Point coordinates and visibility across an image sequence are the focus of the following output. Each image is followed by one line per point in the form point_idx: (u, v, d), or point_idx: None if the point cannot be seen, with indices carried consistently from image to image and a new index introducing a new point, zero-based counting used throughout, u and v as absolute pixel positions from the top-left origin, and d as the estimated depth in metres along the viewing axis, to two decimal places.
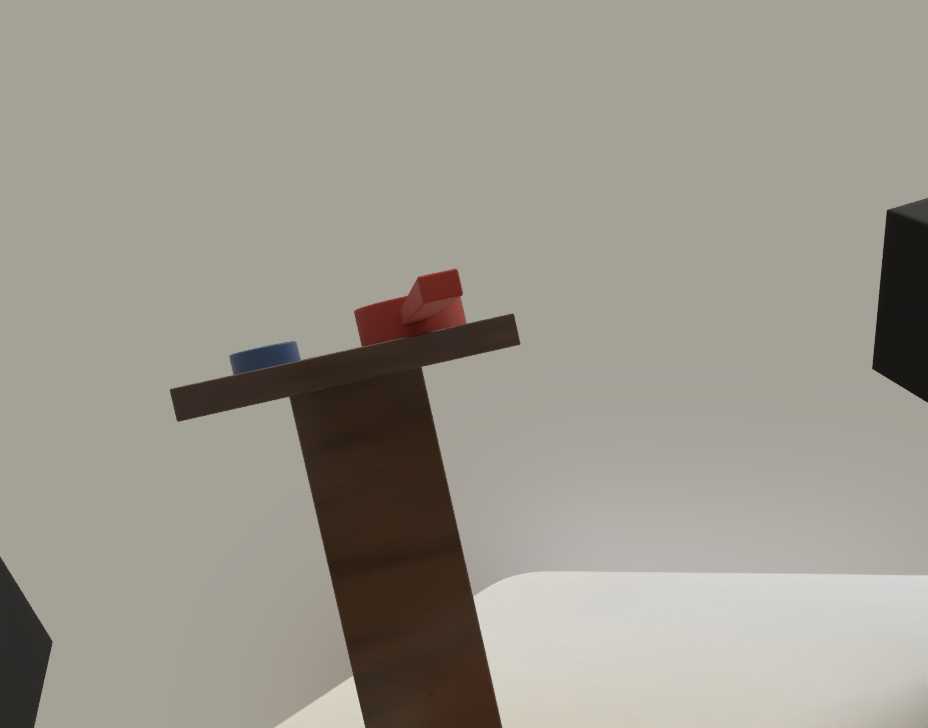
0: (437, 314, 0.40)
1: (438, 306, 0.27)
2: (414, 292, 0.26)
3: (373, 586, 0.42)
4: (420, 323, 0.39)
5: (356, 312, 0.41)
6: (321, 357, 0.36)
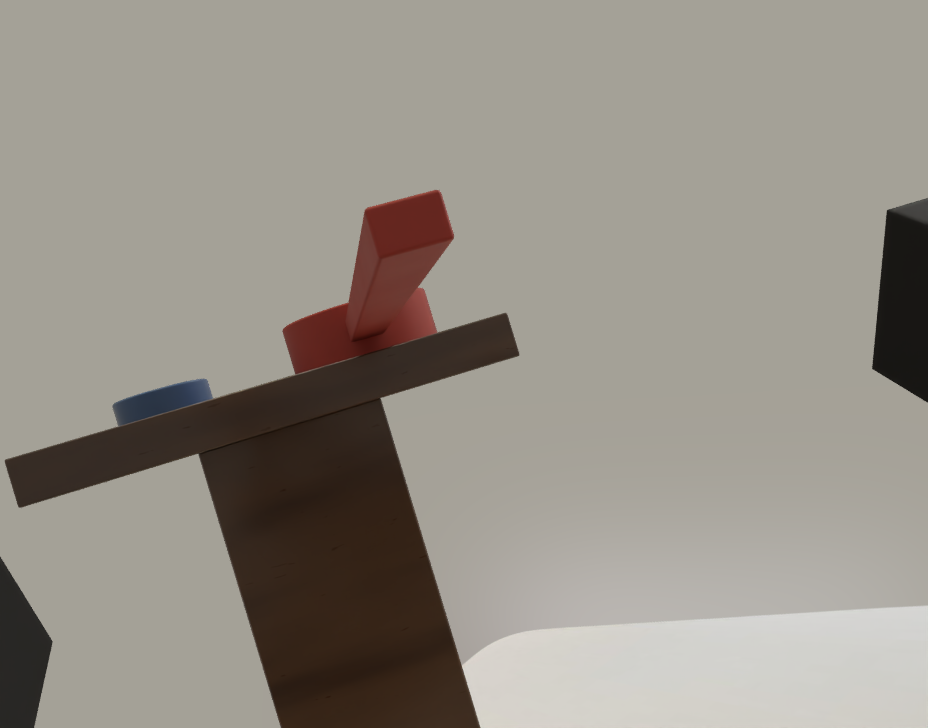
0: (398, 324, 0.28)
1: (405, 282, 0.15)
2: (361, 256, 0.14)
3: (335, 713, 0.30)
4: (375, 338, 0.28)
5: (285, 331, 0.29)
6: (233, 395, 0.25)
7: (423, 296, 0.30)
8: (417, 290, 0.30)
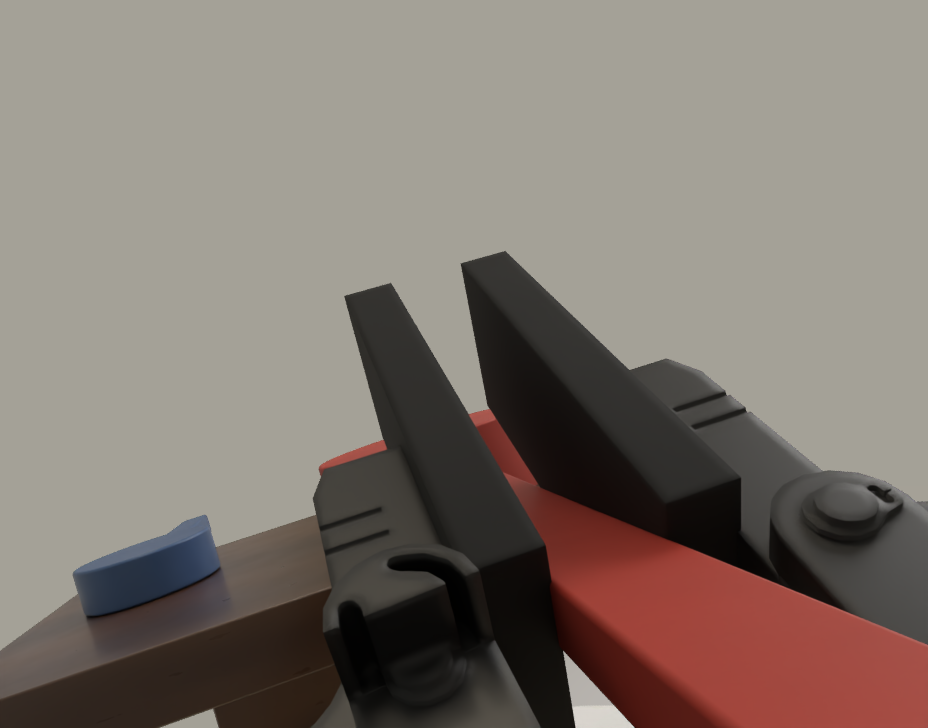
0: None
1: None
2: (653, 696, 0.05)
3: None
4: None
5: None
6: (251, 617, 0.16)
7: None
8: None
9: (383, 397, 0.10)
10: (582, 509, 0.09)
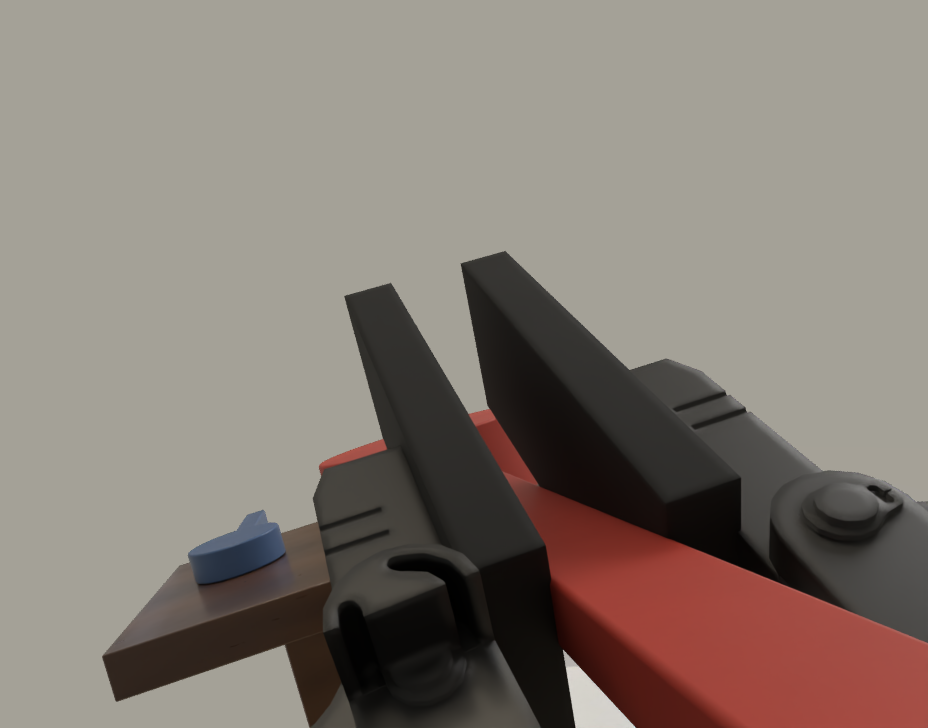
0: None
1: None
2: (652, 693, 0.05)
3: None
4: None
5: None
6: (321, 586, 0.25)
7: None
8: None
9: (383, 397, 0.10)
10: (582, 508, 0.09)
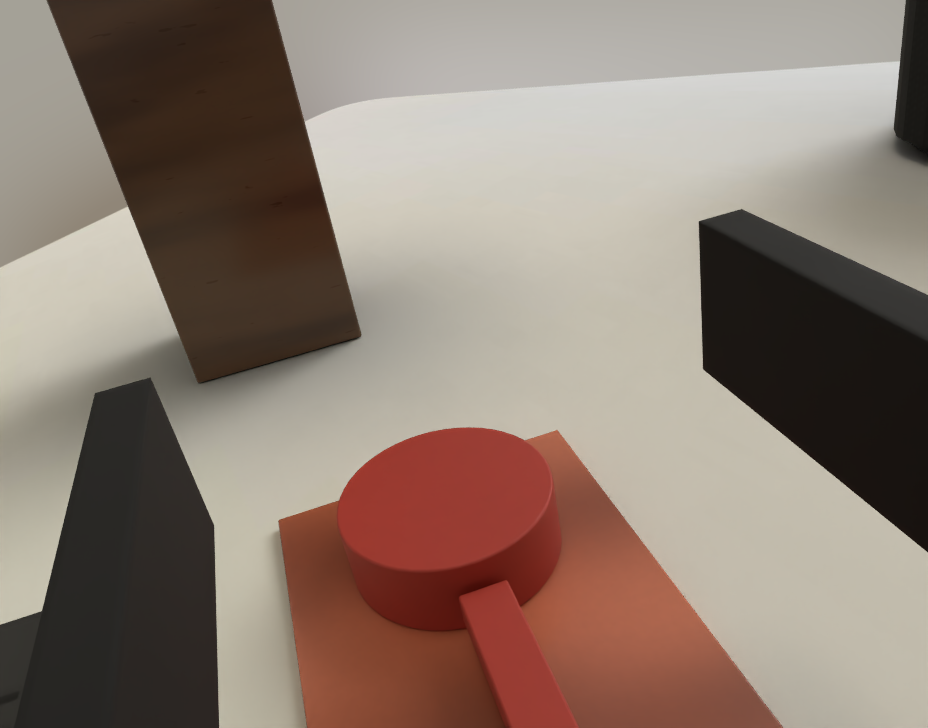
0: (527, 574, 0.19)
1: None
2: None
3: None
4: None
5: (347, 548, 0.19)
6: None
7: (554, 495, 0.20)
8: (551, 500, 0.20)
9: None
10: None
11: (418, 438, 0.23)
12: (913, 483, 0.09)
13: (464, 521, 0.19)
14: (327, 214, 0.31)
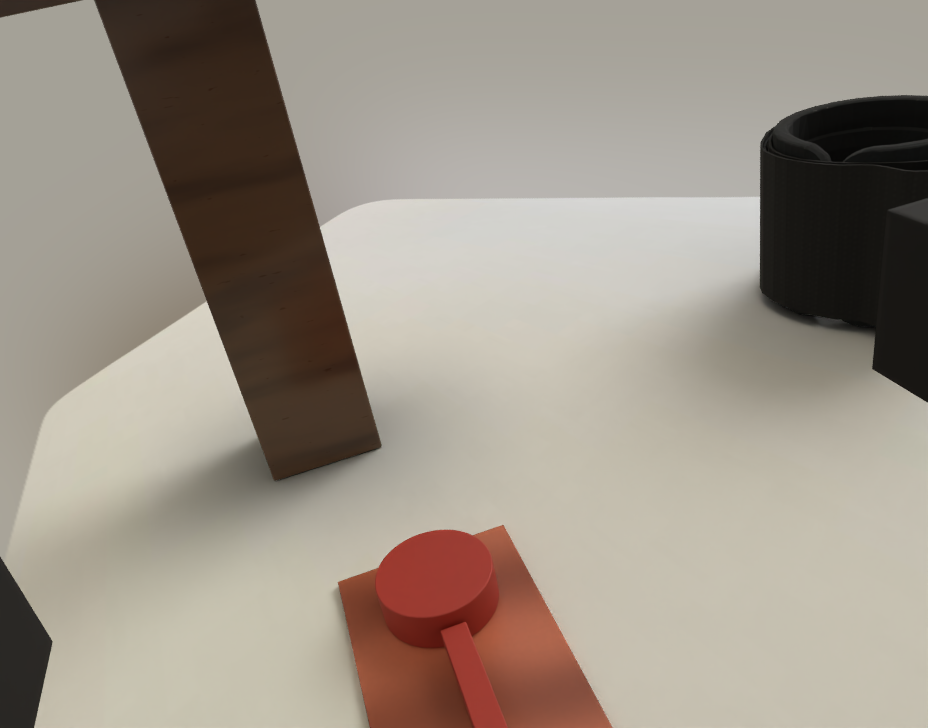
0: (477, 618, 0.36)
1: None
2: None
3: (215, 210, 0.42)
4: None
5: (381, 603, 0.36)
6: None
7: (493, 573, 0.37)
8: (490, 577, 0.36)
9: None
10: None
11: (419, 536, 0.39)
12: None
13: (444, 589, 0.36)
14: (360, 373, 0.48)
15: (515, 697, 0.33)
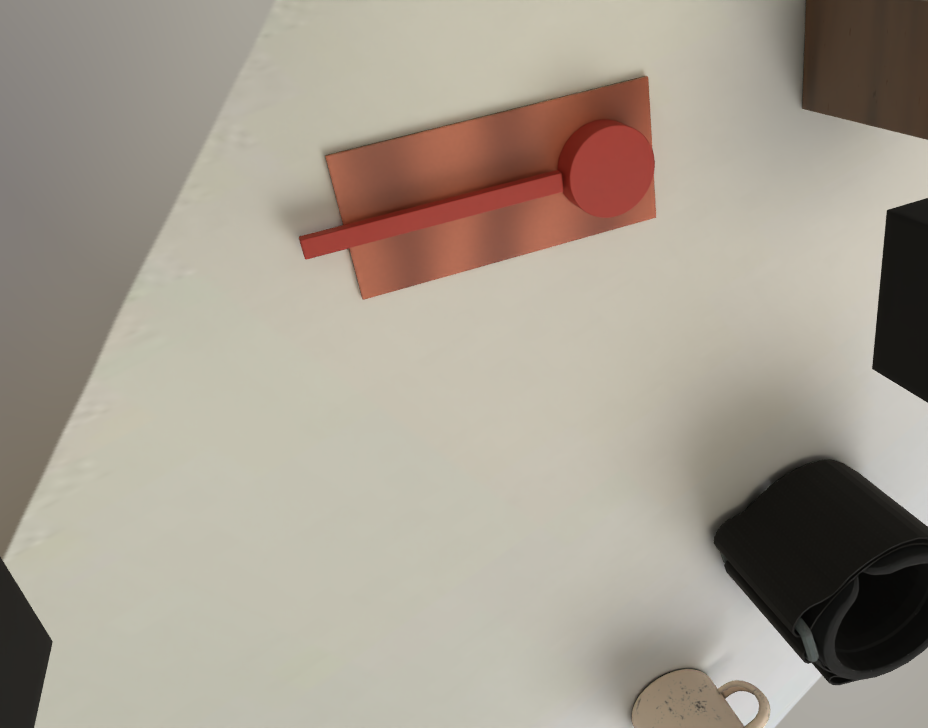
0: (568, 196, 0.49)
1: None
2: (343, 227, 0.46)
3: None
4: (561, 182, 0.49)
5: (596, 130, 0.47)
6: None
7: None
8: (592, 215, 0.49)
9: None
10: (420, 227, 0.47)
11: (652, 161, 0.48)
12: None
13: (592, 180, 0.48)
14: (861, 122, 0.48)
15: (504, 213, 0.49)
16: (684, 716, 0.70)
